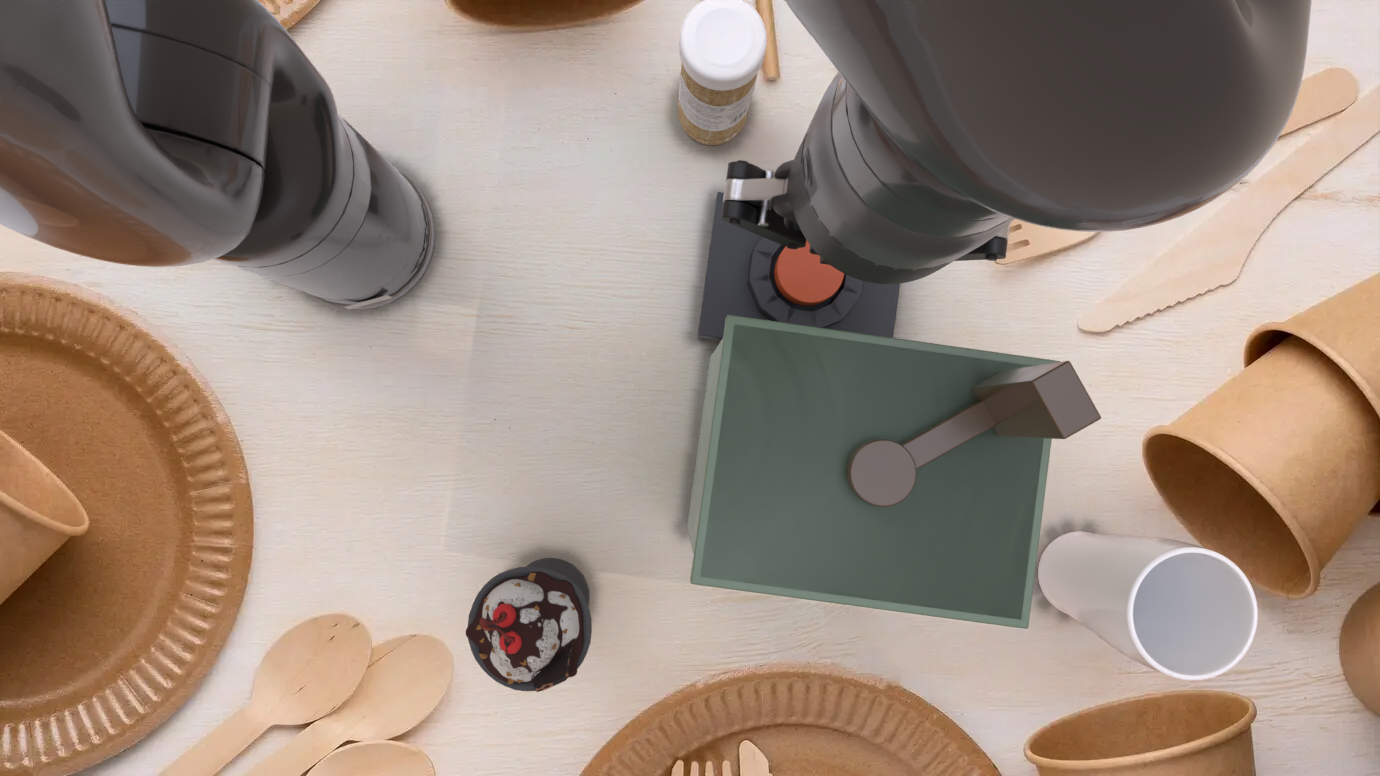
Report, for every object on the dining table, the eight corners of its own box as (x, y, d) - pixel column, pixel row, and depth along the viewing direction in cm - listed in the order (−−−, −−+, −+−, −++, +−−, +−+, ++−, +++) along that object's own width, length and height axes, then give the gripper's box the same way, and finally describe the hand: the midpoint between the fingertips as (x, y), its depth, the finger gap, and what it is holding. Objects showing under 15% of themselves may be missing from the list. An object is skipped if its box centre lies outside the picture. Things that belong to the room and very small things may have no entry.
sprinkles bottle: (717, 63, 68) (730, -26, 54) (762, 117, 68) (786, 42, 54) (662, 107, 68) (661, 29, 54) (707, 162, 68) (717, 97, 54)
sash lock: (866, 516, 45) (906, 535, 37) (833, 459, 45) (868, 466, 37) (1032, 423, 45) (1105, 423, 38) (1000, 366, 45) (1067, 354, 38)
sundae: (497, 543, 66) (449, 578, 51) (604, 546, 67) (587, 582, 52) (493, 648, 66) (444, 714, 51) (600, 651, 66) (582, 718, 51)
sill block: (681, 531, 67) (690, 584, 45) (706, 350, 67) (727, 314, 45) (909, 562, 67) (1028, 629, 45) (932, 381, 67) (1062, 361, 45)
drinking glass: (1054, 644, 67) (1166, 707, 52) (1004, 549, 67) (1102, 585, 52) (1147, 594, 67) (1285, 643, 52) (1097, 500, 67) (1220, 521, 52)
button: (769, 301, 64) (772, 297, 62) (778, 236, 64) (781, 230, 62) (835, 310, 64) (840, 307, 62) (843, 245, 64) (848, 240, 62)
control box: (696, 337, 67) (699, 332, 63) (715, 199, 68) (719, 184, 64) (882, 363, 67) (896, 359, 63) (900, 225, 68) (915, 212, 64)
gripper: (1112, 81, 37) (971, 191, 54) (738, 28, 37) (717, 155, 54) (1086, 293, 37) (953, 335, 54) (709, 241, 36) (697, 300, 54)
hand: (835, 245), depth 54 cm, fingers closed
